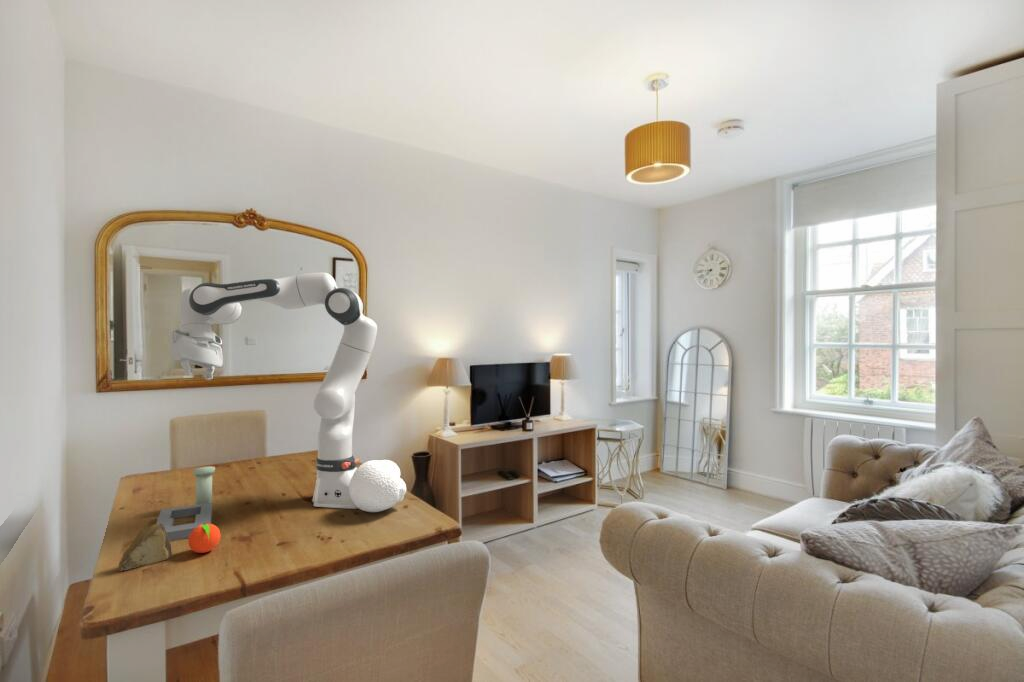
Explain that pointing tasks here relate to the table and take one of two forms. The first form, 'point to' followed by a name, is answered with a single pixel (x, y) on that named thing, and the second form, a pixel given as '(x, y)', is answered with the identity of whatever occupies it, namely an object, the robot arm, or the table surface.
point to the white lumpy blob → (377, 486)
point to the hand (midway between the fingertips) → (198, 377)
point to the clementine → (204, 538)
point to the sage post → (204, 484)
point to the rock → (147, 548)
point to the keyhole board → (184, 531)
